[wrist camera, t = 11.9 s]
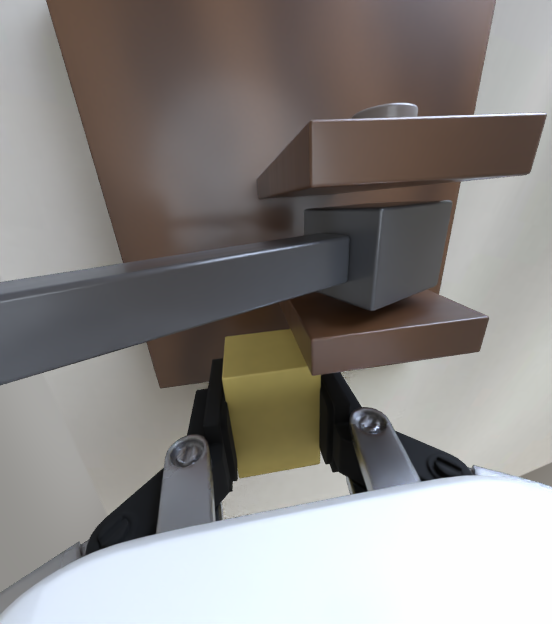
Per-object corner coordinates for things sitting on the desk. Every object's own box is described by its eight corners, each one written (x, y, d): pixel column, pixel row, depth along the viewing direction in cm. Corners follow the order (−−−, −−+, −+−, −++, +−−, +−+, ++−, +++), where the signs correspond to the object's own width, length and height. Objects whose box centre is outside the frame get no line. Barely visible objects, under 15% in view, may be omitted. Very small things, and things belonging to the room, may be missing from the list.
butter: (303, 412, 14) (320, 464, 11) (238, 422, 13) (239, 479, 11) (301, 327, 12) (321, 364, 9) (224, 336, 11) (221, 378, 9)
